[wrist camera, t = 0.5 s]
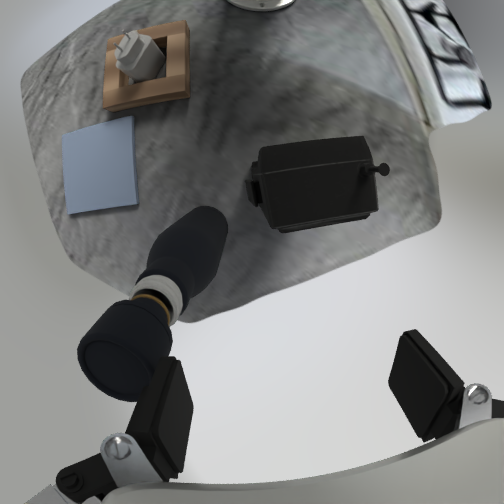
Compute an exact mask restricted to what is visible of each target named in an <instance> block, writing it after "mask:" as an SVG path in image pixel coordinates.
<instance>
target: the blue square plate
mask: <svg viewBox="0 0 504 504" xmlns="http://www.w3.org/2000/svg"><path fill="white" fill-rule="evenodd" d="M62 158H63V176H64V188H65V198H66V207H67V214H73V213H79V212H85V211H91V210H98V209H105V208H112V207H119V206H126V205H134V204H139V196H138V185H137V173H136V157H135V135H134V116H127V117H123V118H119V119H115V120H111V121H107V122H103V123H100V124H96V125H92V126H89V127H86V128H82V129H79V130H76V131H73V132H70V133H67V134H64V135H62Z"/></svg>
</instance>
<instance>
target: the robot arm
mask: <svg viewBox="0 0 504 504" xmlns="http://www.w3.org/2000/svg"><path fill="white" fill-rule="evenodd" d="M227 1H228V2H229V3H231V4H233V5H235V6H237V7H240V8H242V9H246V10H252V11H273V10H278V9H281V8H284V7H286V6H288V5H290V4H291V3H293V2H294V1H295V0H227ZM388 383H389V387H390V389H391V391H392V392H393V394H394V396H395V398H396V399H397V401H398V403H399V404H400V406H401V408H402V410H403V411H404V413H405V415H406V417H407V418H408V420H409V422H410V424H411V426H412V427H413V429H414V431H415V433H416V435H417V436H418V437H419V438H422V440H423V442H426V441H428V440H431V439H433V438H435V439H436V440H434V441H432V442H429V443H427V444H424V445H422V446H420V447H417V448H415V449H412V450H410V451H407V452H404V453H402V454H399V455H396V456H393V457H390V458H387V459H384V460H381V461H378V462H374V463H371V464H367V465H364V466H360V467H357V468H353V469H349V470H344V471H340V472H335V473H331V474H326V475H320V476H315V477H309V478H302V479H295V480H287V481H278V482H267V483H253V484H252V483H249V484H198V483H175V482H169V479H170V478H174V479H177V478H178V473H182V472H183V468H184V461H185V455H186V449H187V444H188V438H189V432H190V426H191V420H192V415H193V402H192V399H191V396H190V392H189V389H188V385H187V382H186V379H185V375H184V372H183V368H182V365H181V361H180V360H176V358H175V357H174V356H162V357H160V360H159V362H158V365H157V367H156V370H155V372H154V375H153V377H152V380H151V382H150V385H149V386H144V387H143V389H142V391H141V393H140V396H139V398H138V401H137V404H136V406H135V409H134V411H133V414H132V416H131V419H130V421H129V424H128V427H127V430H126V432H125V434H124V433H115V434H111V435H110V436H108V437H106V438H105V439H104V440H103V442H102V444H101V447H100V451H101V453H99V454H97V455H94V456H92V457H90V458H88V459H85V460H83V461H80V462H78V463H76V464H73V465H70V466H68V467H65V468H64V469H62V470H61V471H60V472H59V473H58V474H57V477H56V484H55V485H54V486H52V485H51V484H50V485H49V486H48V487H46V488H45V489H43V490H42V491H41V492H40V493H38V494H37V495H35V496H34V497H33V498H31V499H30V500H28V501H27V502H26V503H24V504H504V401H501V400H496V399H492V395H491V392H490V390H489V389H488V388H487V387H486V386H484V385H481V384H470V385H469V386H467V387H466V388H465V387H464V386H463V385H464V382H463V381H462V380H461V378H460V377H459V376H458V375H457V374H456V373H455V371H454V370H453V369H452V368H451V367H450V366H449V365H448V364H447V362H446V361H445V360H444V359H443V358H442V357H441V355H440V354H439V353H438V352H437V351H436V350H435V349H434V348H433V347H432V346H431V344H430V343H429V342H428V341H427V340H426V339H425V338H424V337H423V336H422V335H421V334H420V333H419V332H418V331H417V330H416V329H414V330H410V331H405V332H404V333H403V335H402V336H400V338H399V343H398V347H397V351H396V355H395V358H394V362H393V366H392V370H391V373H390V376H389V380H388Z"/></svg>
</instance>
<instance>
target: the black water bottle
mask: <svg viewBox="0 0 504 504" xmlns="http://www.w3.org/2000/svg"><path fill="white" fill-rule="evenodd" d="M227 233H228V224H227V221H226V218H225V217H224V216H223V214H222V213H221V212H220V211H218V210H217V209H215V208H212V207H209V206H201V207H198V208H195V209H193V210H192V211H191V212H189V213H188V214H186V215H185V216H184V217H182V218H181V219H180V220H178V221H177V222H175V223H174V224H173V225H171V226H170V227H169V228H167V229H166V230H165V231H164V232H162V233H161V234H160V235H159V236H158V238H157V239H156V241H155V242H154V244H153V246H152V248H151V250H150V253H149V256H148V261H147V269H146V270H145V271H144V272H143V273H142V274H141V275H140V276H139V278H138V280H137V281H136V284H135V286H134V288H133V289H132V291H131V293H130V298H129V300H122V301H119V302H116V303H114V304H113V305H112V306H111V307H110V308H108V309H107V311H106V312H105V313H104V314H103V315H102V316H101V317H100V318H99V319H98V321H97V322H96V323H95V324H94V325H93V326H92V327H91V329H90V330H89V331H88V332H87V333H86V335H85V336H84V337H83V338H82V339H81V341H80V344H79V346H78V348H77V355H78V361H79V364H80V366H81V369H82V371H83V372H84V374H85V375H86V377H87V378H88V379H89V381H90V382H91V383H92V384H93V385H95V386H96V387H97V388H98V389H99V390H101V391H102V392H104V393H105V394H107V395H108V396H111V397H113V398H116V399H118V400H122V401H127V402H137V401H138V398H139V396H140V393H141V391H142V389H143V387H144V386H149V385H150V382H151V380H152V377H153V375H154V372H155V370H156V367H157V365H158V362H159V360H160V357H162V356H169V353H170V351H171V347H172V342H173V340H172V334H171V330H170V328H169V327H170V326H171V325H173V324H175V322H176V321H177V319H178V318H179V316H180V315H181V314H182V313H183V312H184V310H185V309H186V307H187V305H188V302H189V300H190V298H192V297H194V296H196V295H197V294H199V293H200V292H202V291H203V290H204V289H205V288H206V287H207V286H208V284H209V283H210V282H211V281H212V279H213V278H214V277H215V275H216V272H217V269H218V266H219V262H220V259H221V255H222V251H223V248H224V244H225V241H226V237H227Z"/></svg>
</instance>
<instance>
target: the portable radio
mask: <svg viewBox="0 0 504 504" xmlns="http://www.w3.org/2000/svg"><path fill="white" fill-rule="evenodd" d="M389 171H390V168H389V166H388V165H387V164H386V163H382V164H380V166H374V164H373V159H372V155H371V152H370V149H369V147H368V145H367V143H366V140H365V138H364V136H354V137H341V138H330V139H320V140H311V141H303V142H295V143H287V144H280V145H274V146H267V147H262V148H261V149H260V151H259V156H258V161H256V162H253V163H252V178H253V181H251V180H245V183H246V188H247V193H248V198H249V201H250V202H251V203H252V204H253V205H254V206H255V207H258V204H259V205H260V207H261V209H262V211H263V213H264V215H265V217H266V219H267V221H268V223H269V225H270V227H271V228H272V229H278V230H279V232H281V233H288V232H294V231H299V230H305V229H311V228H316V227H322V226H328V225H333V224H339V223H345V222H351V221H357V220H362V219H366V218H368V217H369V216H370V213H372V212H376V211H378V198H377V188H376V179H375V172H379V173H380V174H381V175H382V176H386V175H388V174H389Z"/></svg>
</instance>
